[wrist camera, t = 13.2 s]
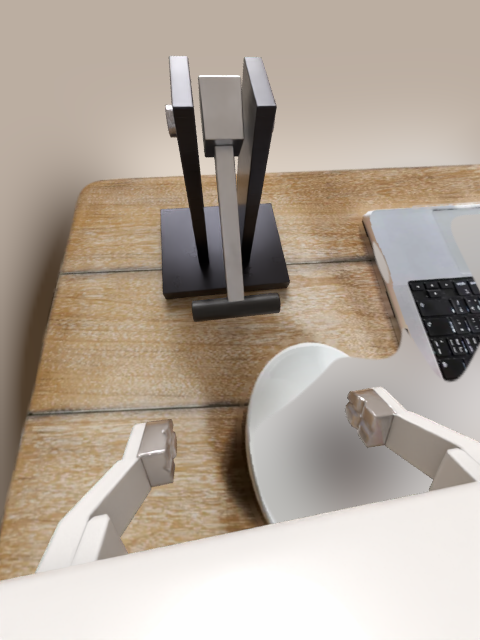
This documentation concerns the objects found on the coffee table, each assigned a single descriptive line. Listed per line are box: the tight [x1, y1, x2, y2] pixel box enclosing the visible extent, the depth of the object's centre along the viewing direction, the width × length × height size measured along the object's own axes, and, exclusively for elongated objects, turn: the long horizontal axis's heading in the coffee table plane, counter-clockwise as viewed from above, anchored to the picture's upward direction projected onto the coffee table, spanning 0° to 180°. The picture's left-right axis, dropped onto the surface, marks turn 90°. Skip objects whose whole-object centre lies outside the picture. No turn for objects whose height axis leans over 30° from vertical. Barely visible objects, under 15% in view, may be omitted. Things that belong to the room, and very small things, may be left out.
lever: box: [192, 76, 280, 322], centre depth 15 cm, size 13×6×2 cm
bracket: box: [161, 56, 290, 299], centre depth 18 cm, size 10×12×14 cm
